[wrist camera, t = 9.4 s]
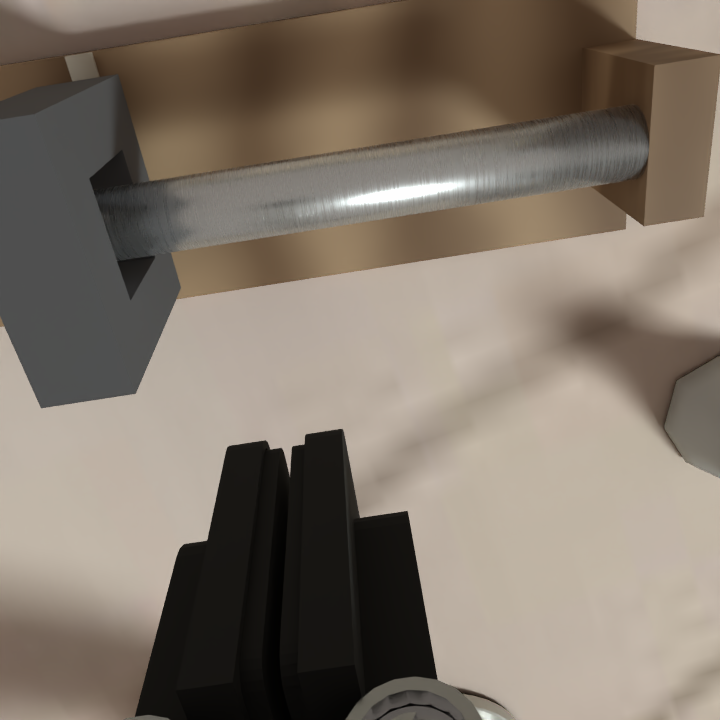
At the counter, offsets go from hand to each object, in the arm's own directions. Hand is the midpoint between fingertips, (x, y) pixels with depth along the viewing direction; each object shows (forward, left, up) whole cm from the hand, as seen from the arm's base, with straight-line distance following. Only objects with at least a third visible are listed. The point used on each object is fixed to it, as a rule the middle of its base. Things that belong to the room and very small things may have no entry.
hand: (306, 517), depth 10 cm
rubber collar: (+1, +8, -19) cm, 21 cm away
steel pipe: (+1, +2, -16) cm, 16 cm away
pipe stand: (+1, +2, -21) cm, 21 cm away
